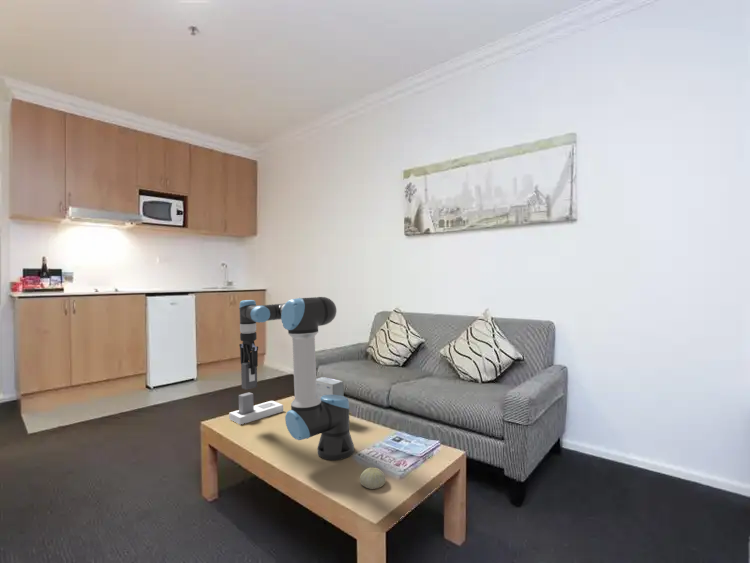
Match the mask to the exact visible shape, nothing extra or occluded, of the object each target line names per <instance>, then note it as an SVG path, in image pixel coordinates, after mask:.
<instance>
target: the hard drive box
mask: <svg viewBox="0 0 750 563" xmlns="http://www.w3.org/2000/svg"><path fill="white" fill-rule="evenodd" d="M316 383H317V397H318V398H319V399H321V397H322V396H323V395H341V396H344V381H343V380H339V379H334V378H329V377H325V376H321V377H318V378H317V377H316ZM344 397H345V396H344Z"/></svg>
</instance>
